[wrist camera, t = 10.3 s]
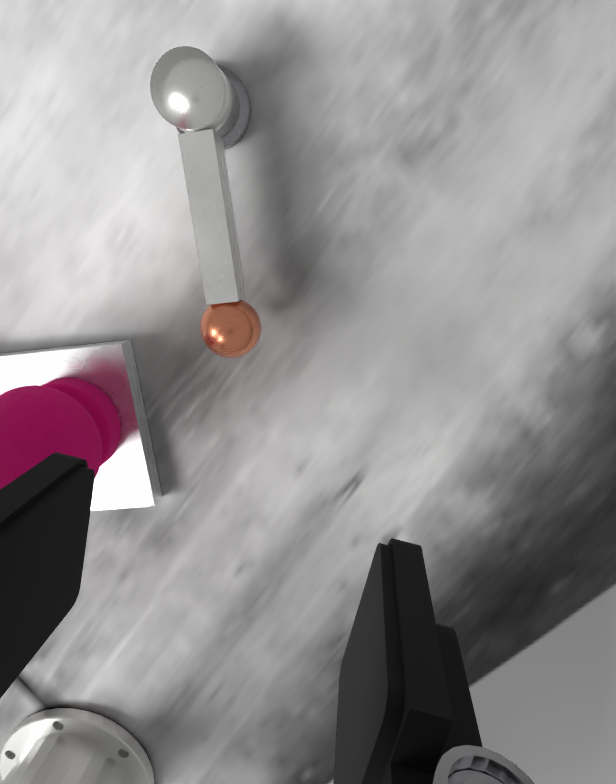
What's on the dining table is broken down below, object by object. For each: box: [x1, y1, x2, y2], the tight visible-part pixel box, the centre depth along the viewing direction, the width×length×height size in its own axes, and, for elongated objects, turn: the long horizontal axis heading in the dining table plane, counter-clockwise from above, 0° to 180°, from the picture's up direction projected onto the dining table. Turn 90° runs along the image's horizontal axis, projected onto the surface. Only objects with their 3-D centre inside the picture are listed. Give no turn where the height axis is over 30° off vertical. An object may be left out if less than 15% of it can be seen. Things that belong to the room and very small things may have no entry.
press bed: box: [0, 65, 250, 511], centre depth 30 cm, size 26×26×13 cm
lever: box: [150, 46, 261, 358], centre depth 31 cm, size 16×4×4 cm, turn 7°
